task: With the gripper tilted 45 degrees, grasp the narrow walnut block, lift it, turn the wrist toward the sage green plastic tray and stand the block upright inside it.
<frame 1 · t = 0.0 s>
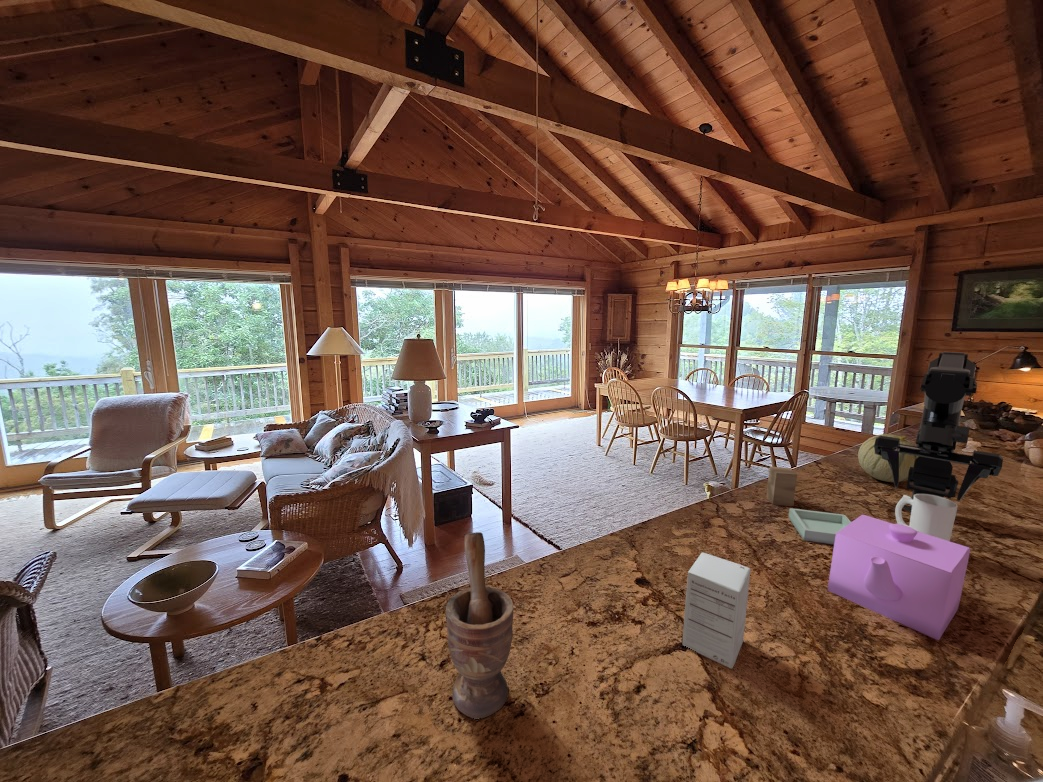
hand: (926, 493, 86), 15 cm above the worktop, tool tilted 35°, fingers open, 9 cm apart
cantaloupe: (884, 480, 133), on the worktop
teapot: (888, 603, 76), on the worktop
mug: (916, 549, 94), on the worktop
mortar and pestle: (475, 685, 59), on the worktop
supplement box: (712, 644, 66), on the worktop
walnut block: (779, 501, 117), on the worktop
tray: (824, 531, 101), on the worktop
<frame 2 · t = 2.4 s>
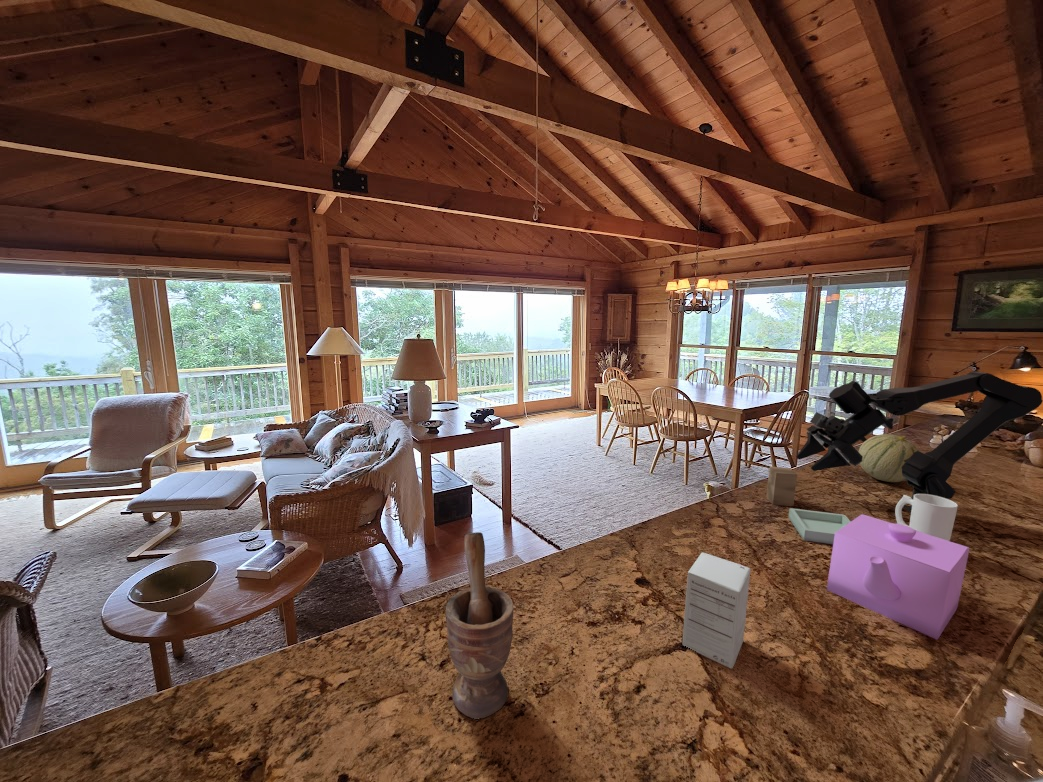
hand: (804, 463, 114), 11 cm above the worktop, tool tilted 45°, fingers open, 9 cm apart
nothing on the worktop moved.
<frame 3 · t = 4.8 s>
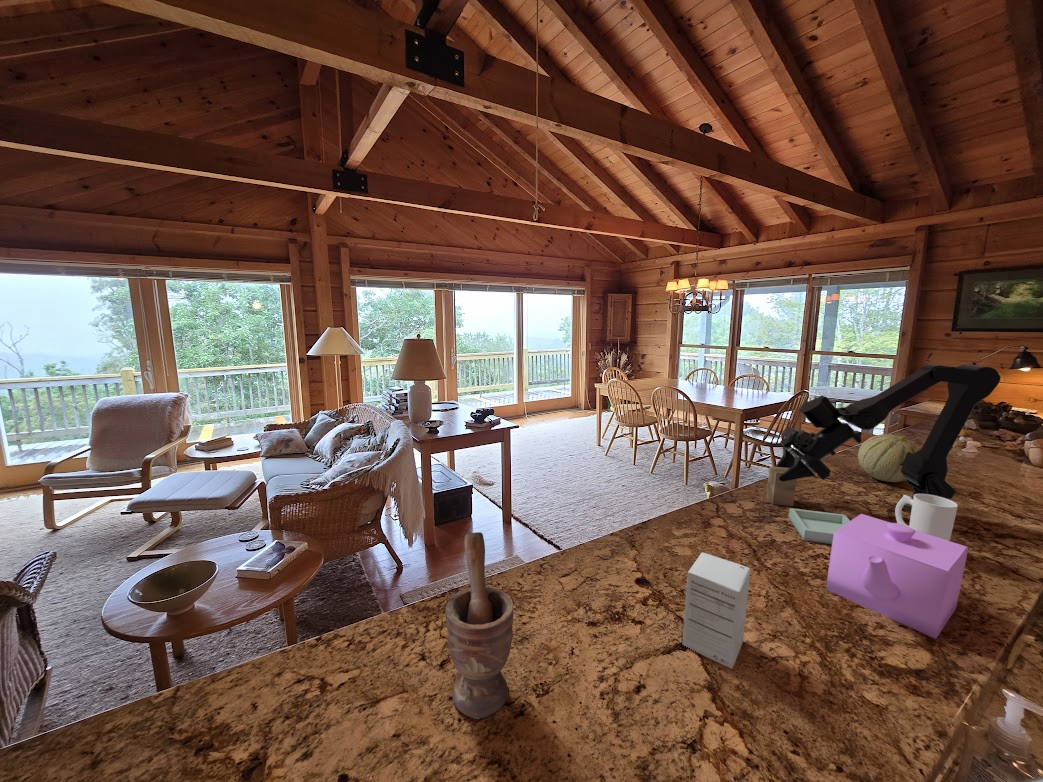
hand: (776, 476, 117), 7 cm above the worktop, tool tilted 45°, fingers closed on walnut block, 5 cm apart
walnut block: (779, 501, 117), on the worktop, touching gripper
everything else where it was.
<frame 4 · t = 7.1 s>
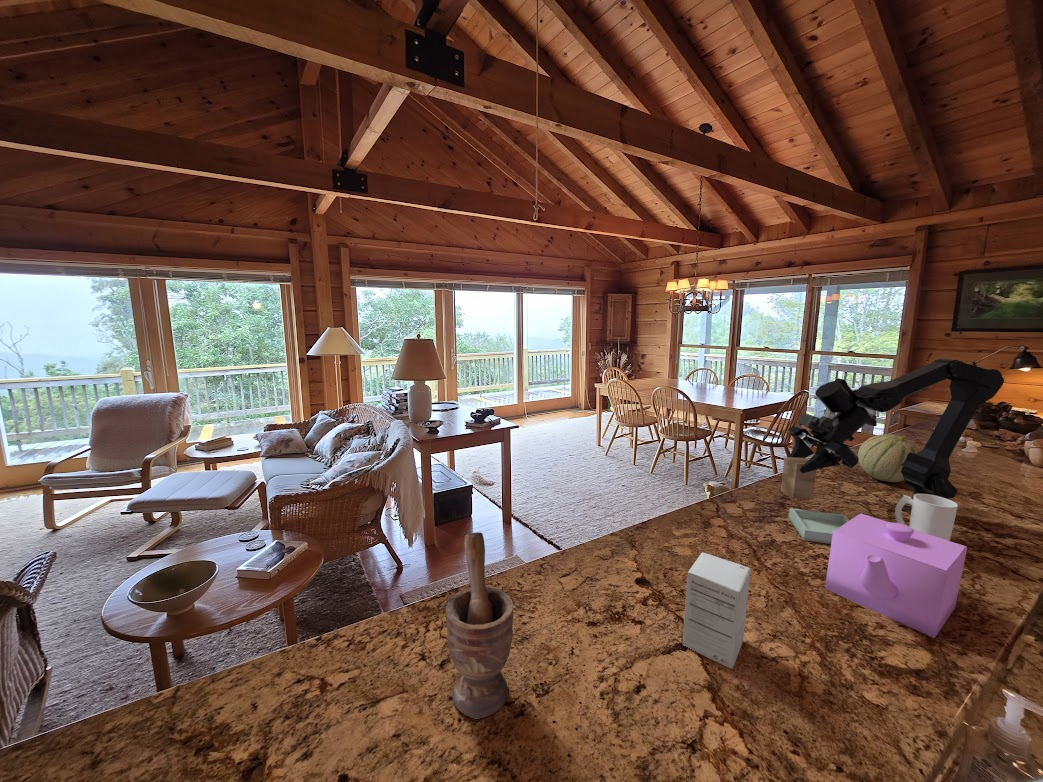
hand: (794, 467, 108), 12 cm above the worktop, tool tilted 45°, fingers closed on walnut block, 5 cm apart
walnut block: (796, 494, 109), point 5 cm above the worktop, touching gripper
everything else where it was.
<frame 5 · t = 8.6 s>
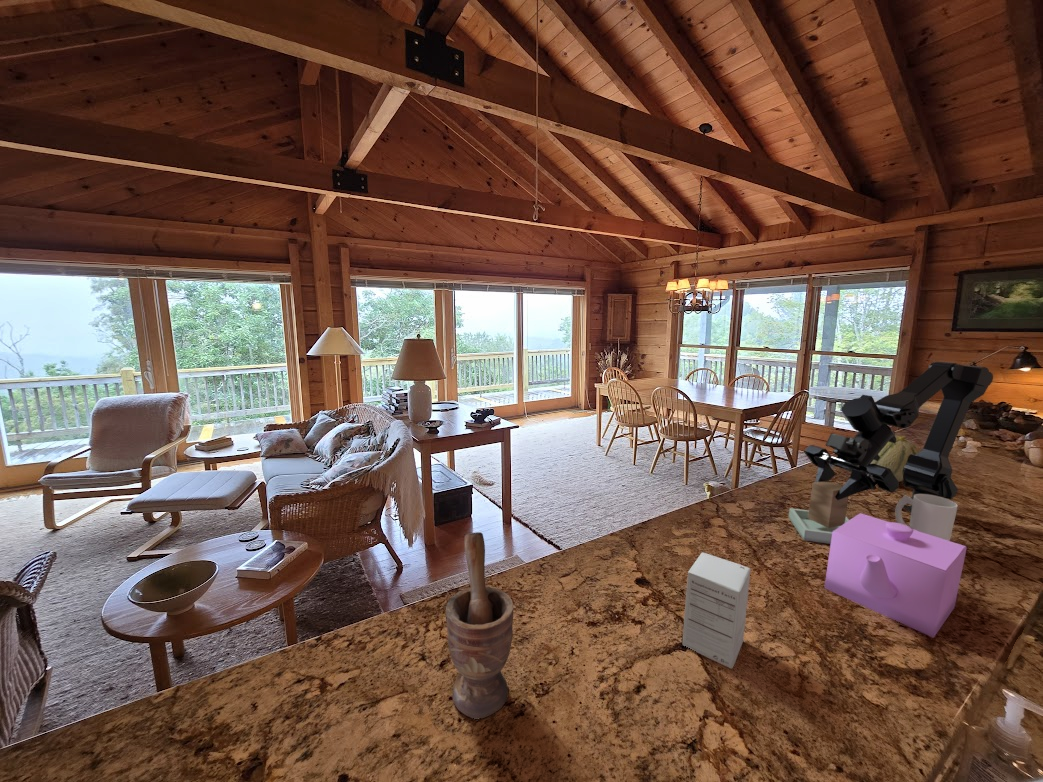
hand: (825, 493, 99), 10 cm above the worktop, tool tilted 45°, fingers closed on walnut block, 5 cm apart
walnut block: (825, 521, 100), point 3 cm above the worktop, touching gripper
everything else where it was.
when the fingers open (9 cm above the worktop, at t = 9.6 s): walnut block drops 1 cm, resting on tray.
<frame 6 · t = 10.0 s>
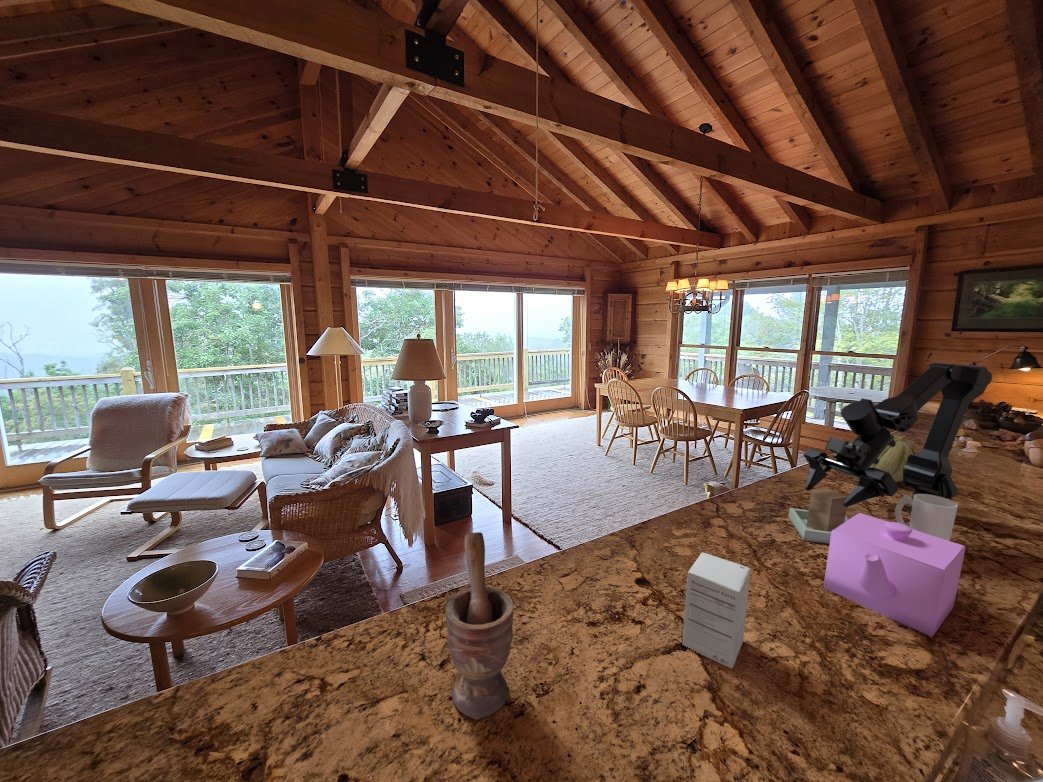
hand: (824, 497, 99), 9 cm above the worktop, tool tilted 45°, fingers open, 9 cm apart
walnut block: (824, 529, 101), point 1 cm above the worktop, touching tray
everything else where it was.
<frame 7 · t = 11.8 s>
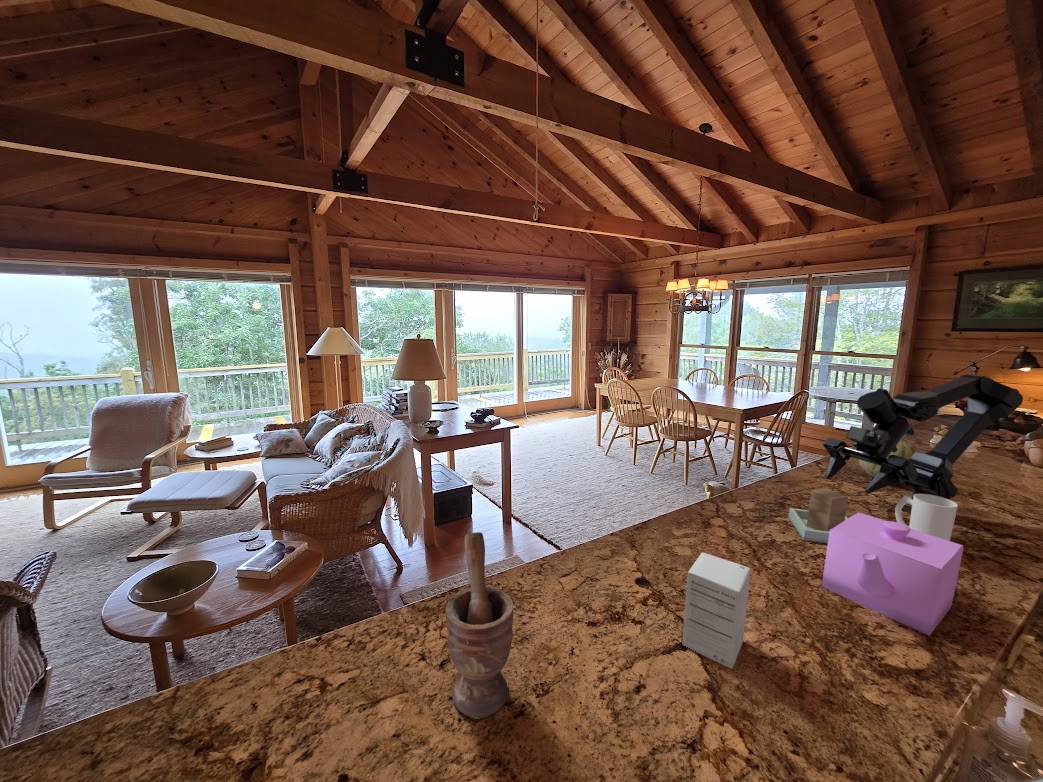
hand: (846, 484, 102), 10 cm above the worktop, tool tilted 45°, fingers open, 9 cm apart
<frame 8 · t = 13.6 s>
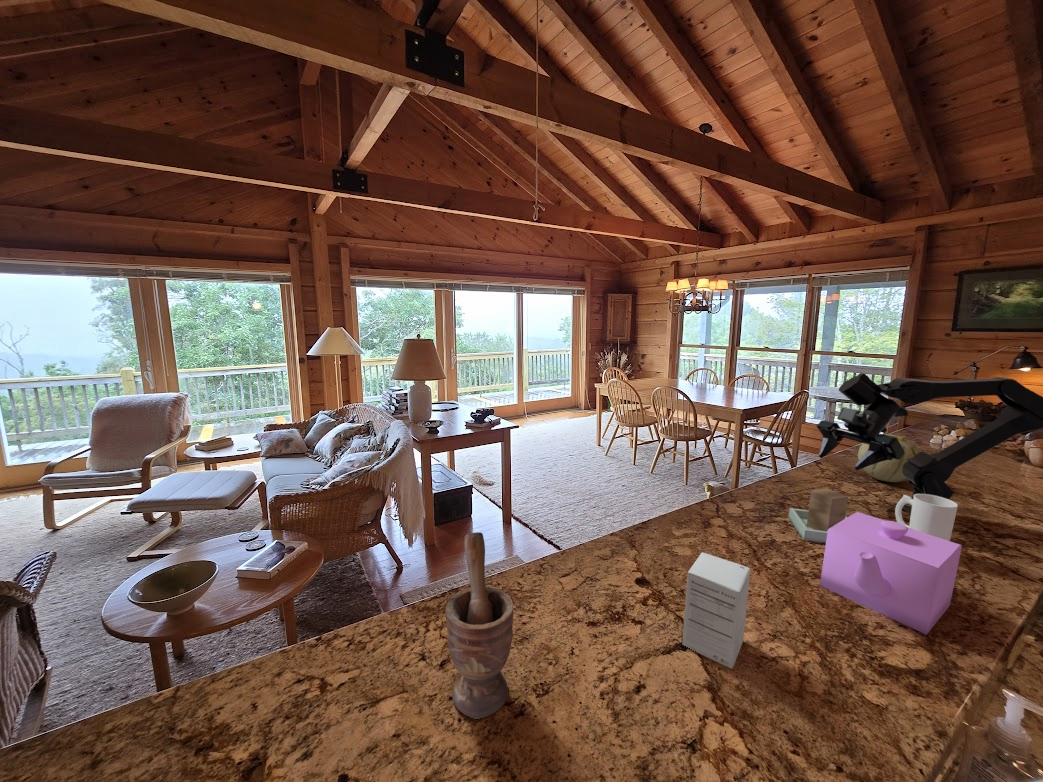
hand: (837, 462, 108), 14 cm above the worktop, tool tilted 45°, fingers open, 9 cm apart
at the end: walnut block inside the target area on the tray (0.0 cm from its centre), point 0.6 cm above the tray's base; walnut block tilted 0°; the gripper is holding nothing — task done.
